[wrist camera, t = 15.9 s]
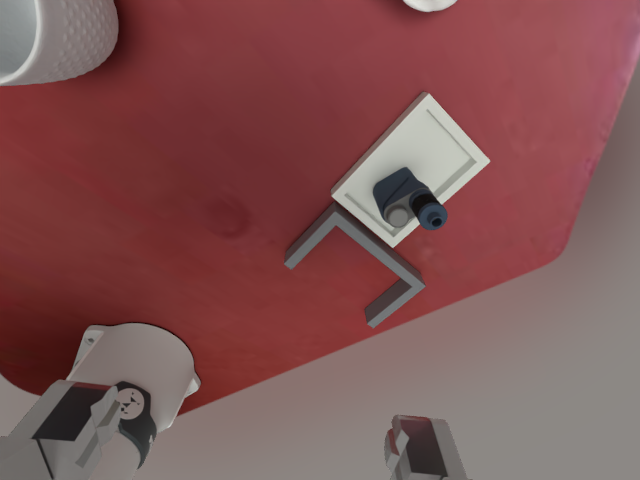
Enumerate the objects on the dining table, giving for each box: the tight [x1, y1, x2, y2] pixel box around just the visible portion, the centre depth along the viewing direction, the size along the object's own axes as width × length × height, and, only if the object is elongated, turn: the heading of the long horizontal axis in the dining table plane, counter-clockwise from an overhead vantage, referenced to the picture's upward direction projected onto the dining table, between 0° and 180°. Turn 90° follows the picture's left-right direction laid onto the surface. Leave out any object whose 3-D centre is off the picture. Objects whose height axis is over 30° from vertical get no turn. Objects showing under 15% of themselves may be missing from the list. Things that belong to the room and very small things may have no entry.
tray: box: [331, 92, 490, 248], centre depth 37 cm, size 14×10×2 cm
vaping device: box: [373, 167, 447, 230], centre depth 33 cm, size 3×5×12 cm, turn 122°
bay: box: [284, 201, 426, 328], centre depth 43 cm, size 9×15×3 cm, turn 49°
